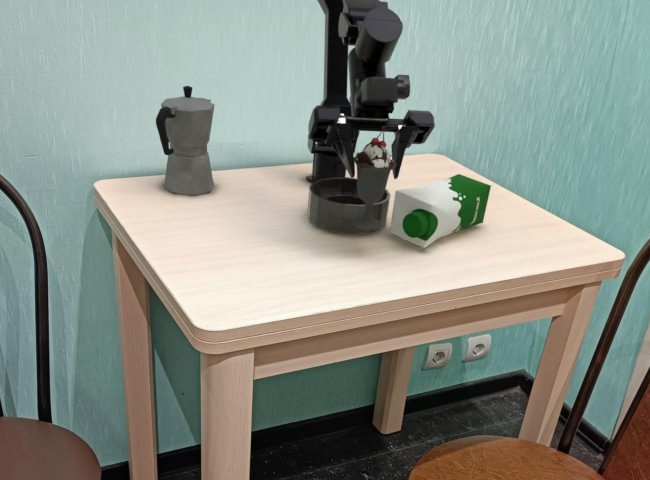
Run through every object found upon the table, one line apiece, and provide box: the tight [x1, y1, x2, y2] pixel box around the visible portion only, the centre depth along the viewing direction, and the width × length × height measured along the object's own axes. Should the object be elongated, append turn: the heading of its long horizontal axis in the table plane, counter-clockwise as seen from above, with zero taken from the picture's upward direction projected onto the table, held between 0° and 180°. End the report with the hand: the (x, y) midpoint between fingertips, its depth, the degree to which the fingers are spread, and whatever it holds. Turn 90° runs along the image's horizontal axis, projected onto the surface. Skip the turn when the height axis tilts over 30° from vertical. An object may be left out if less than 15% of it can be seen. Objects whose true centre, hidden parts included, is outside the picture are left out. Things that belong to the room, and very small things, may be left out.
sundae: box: [351, 126, 396, 230], centre depth 117 cm, size 7×7×15 cm
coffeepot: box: [155, 85, 215, 196], centre depth 136 cm, size 15×9×18 cm, turn 153°
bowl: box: [306, 176, 391, 235], centre depth 133 cm, size 14×14×6 cm
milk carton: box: [389, 173, 492, 249], centre depth 131 cm, size 9×9×20 cm
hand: (374, 177), depth 115 cm, fingers closed on sundae, 6 cm apart
